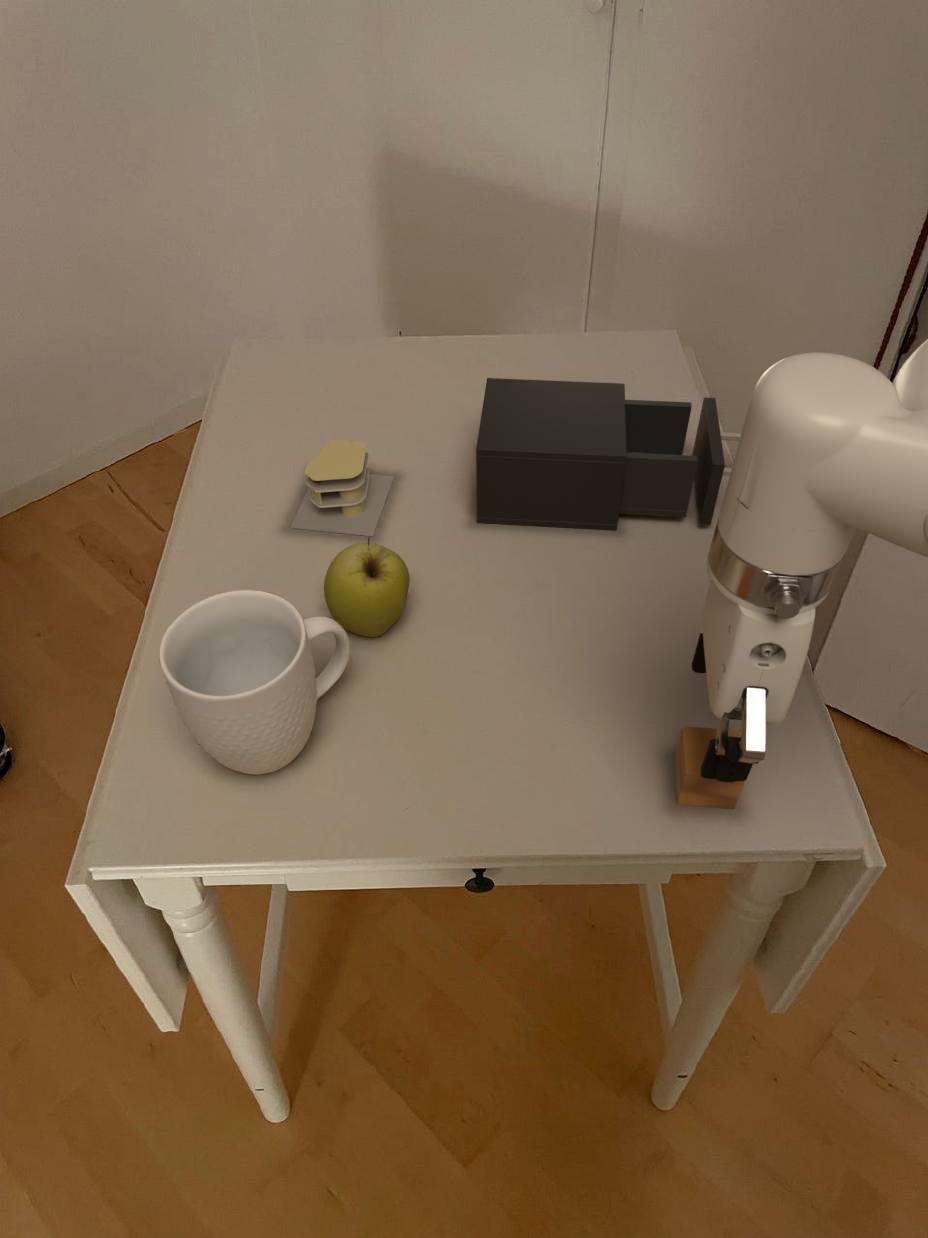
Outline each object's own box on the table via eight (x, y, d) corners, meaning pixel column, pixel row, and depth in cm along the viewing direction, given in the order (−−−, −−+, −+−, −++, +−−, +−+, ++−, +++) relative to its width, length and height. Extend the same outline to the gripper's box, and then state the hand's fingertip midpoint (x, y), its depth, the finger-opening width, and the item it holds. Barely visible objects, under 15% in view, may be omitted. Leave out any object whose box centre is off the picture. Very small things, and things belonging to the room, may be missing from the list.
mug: (320, 651, 85) (299, 546, 75) (391, 724, 79) (377, 622, 69) (175, 736, 78) (131, 634, 69) (239, 823, 73) (201, 725, 63)
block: (729, 762, 76) (740, 730, 72) (734, 809, 73) (746, 778, 69) (674, 758, 76) (682, 725, 73) (677, 805, 73) (686, 773, 70)
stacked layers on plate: (316, 469, 103) (309, 428, 99) (394, 476, 102) (390, 436, 98) (290, 528, 96) (281, 487, 92) (373, 536, 95) (367, 495, 91)
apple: (309, 594, 88) (327, 513, 82) (388, 596, 91) (412, 518, 85) (322, 654, 83) (342, 574, 76) (405, 654, 86) (432, 576, 79)
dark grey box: (615, 456, 104) (624, 383, 97) (616, 530, 95) (626, 456, 88) (487, 450, 105) (486, 377, 98) (476, 523, 96) (476, 448, 89)
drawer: (747, 459, 101) (763, 399, 96) (759, 527, 94) (777, 466, 88) (580, 451, 103) (586, 392, 97) (579, 518, 95) (584, 457, 90)
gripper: (864, 669, 50) (783, 828, 62) (814, 469, 61) (754, 638, 74) (724, 658, 50) (671, 818, 63) (701, 462, 62) (660, 631, 74)
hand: (716, 721), depth 68 cm, fingers open, 9 cm apart
